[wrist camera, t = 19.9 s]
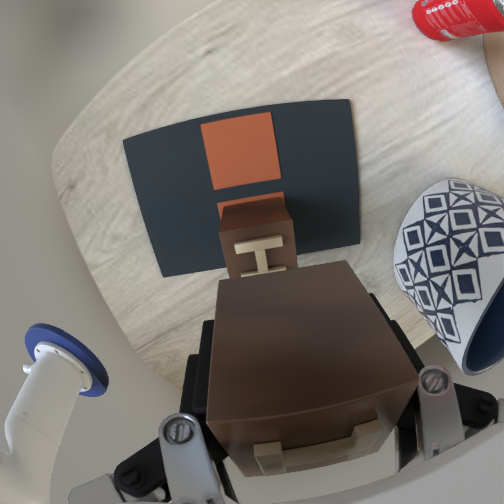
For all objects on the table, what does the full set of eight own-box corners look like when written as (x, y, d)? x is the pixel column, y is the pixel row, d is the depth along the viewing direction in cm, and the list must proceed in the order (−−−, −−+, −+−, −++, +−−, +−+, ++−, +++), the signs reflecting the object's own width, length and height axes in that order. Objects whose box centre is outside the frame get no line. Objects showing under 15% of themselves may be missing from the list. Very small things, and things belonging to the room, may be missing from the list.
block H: (234, 256, 26) (233, 296, 20) (223, 206, 23) (217, 234, 18) (286, 247, 25) (300, 285, 20) (279, 196, 23) (293, 221, 17)
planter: (487, 252, 28) (550, 306, 15) (409, 316, 31) (460, 396, 18) (467, 153, 22) (564, 190, 9) (370, 226, 25) (457, 314, 12)
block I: (241, 363, 13) (244, 486, 7) (218, 279, 10) (203, 438, 5) (341, 347, 12) (381, 459, 7) (346, 259, 10) (428, 390, 4)
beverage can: (406, 25, 16) (486, -1, 5) (410, -5, 14) (480, -36, 3) (443, 51, 17) (524, 42, 6) (445, 20, 14) (518, 4, 4)
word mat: (164, 275, 27) (162, 278, 26) (124, 140, 21) (121, 140, 20) (358, 242, 26) (360, 244, 26) (347, 99, 20) (349, 99, 19)
